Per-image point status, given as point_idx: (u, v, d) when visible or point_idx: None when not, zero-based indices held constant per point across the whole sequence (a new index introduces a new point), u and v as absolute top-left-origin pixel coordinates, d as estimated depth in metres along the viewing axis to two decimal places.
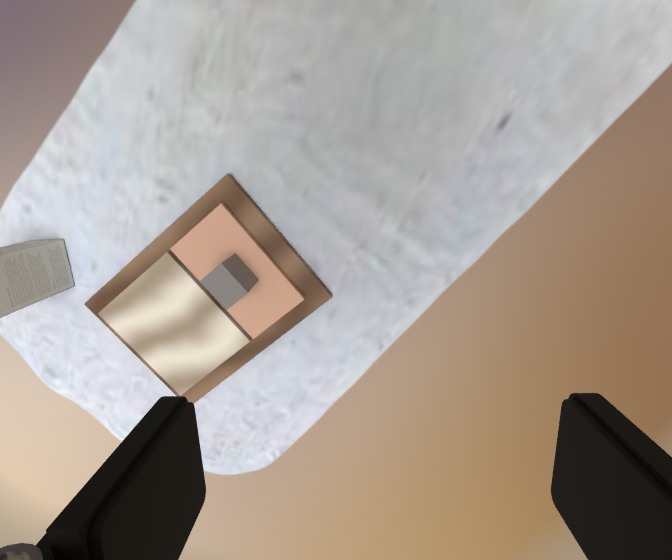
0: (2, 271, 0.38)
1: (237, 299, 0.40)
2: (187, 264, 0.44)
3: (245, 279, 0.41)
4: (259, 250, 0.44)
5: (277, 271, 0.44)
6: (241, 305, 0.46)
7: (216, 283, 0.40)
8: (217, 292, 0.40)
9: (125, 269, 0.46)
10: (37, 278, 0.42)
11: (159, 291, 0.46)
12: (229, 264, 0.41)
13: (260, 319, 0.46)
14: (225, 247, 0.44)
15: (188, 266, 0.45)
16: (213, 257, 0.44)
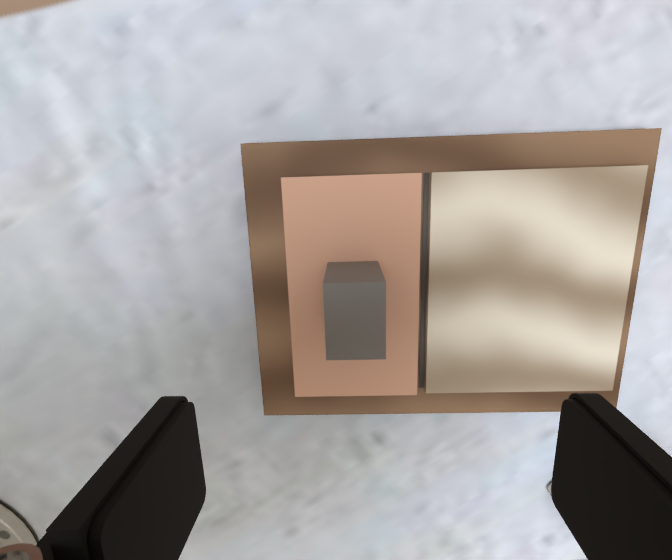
0: None
1: (350, 286, 0.19)
2: (413, 359, 0.25)
3: None
4: (292, 302, 0.24)
5: (289, 253, 0.23)
6: (389, 244, 0.23)
7: (361, 335, 0.19)
8: (373, 321, 0.19)
9: (508, 408, 0.27)
10: None
11: (491, 353, 0.25)
12: None
13: (379, 198, 0.23)
14: None
15: (414, 356, 0.25)
16: None
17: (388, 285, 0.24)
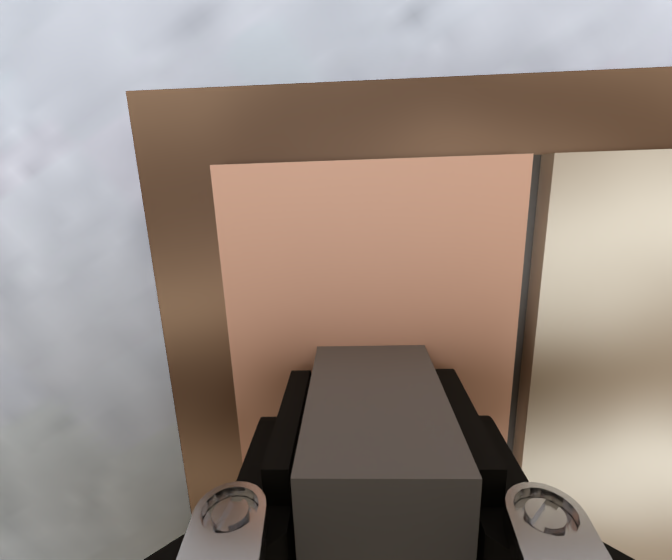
0: None
1: (374, 487, 0.06)
2: None
3: None
4: (244, 424, 0.12)
5: (235, 328, 0.11)
6: (451, 310, 0.11)
7: None
8: None
9: None
10: None
11: (648, 521, 0.12)
12: None
13: (433, 211, 0.10)
14: None
15: None
16: None
17: None
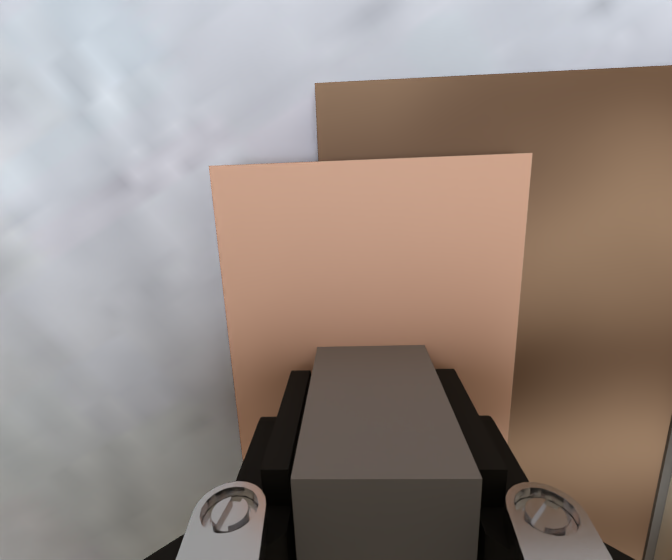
0: None
1: (374, 487, 0.06)
2: None
3: None
4: (245, 424, 0.12)
5: (235, 329, 0.11)
6: (451, 310, 0.11)
7: None
8: None
9: None
10: None
11: None
12: None
13: (432, 211, 0.10)
14: None
15: None
16: None
17: None
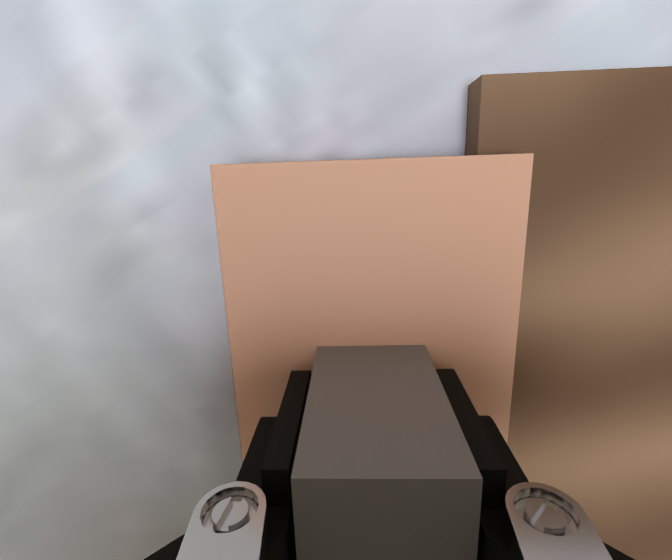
0: None
1: (374, 487, 0.06)
2: None
3: None
4: (245, 424, 0.12)
5: (235, 328, 0.11)
6: (452, 310, 0.11)
7: None
8: None
9: None
10: None
11: None
12: None
13: (433, 211, 0.10)
14: None
15: None
16: None
17: None
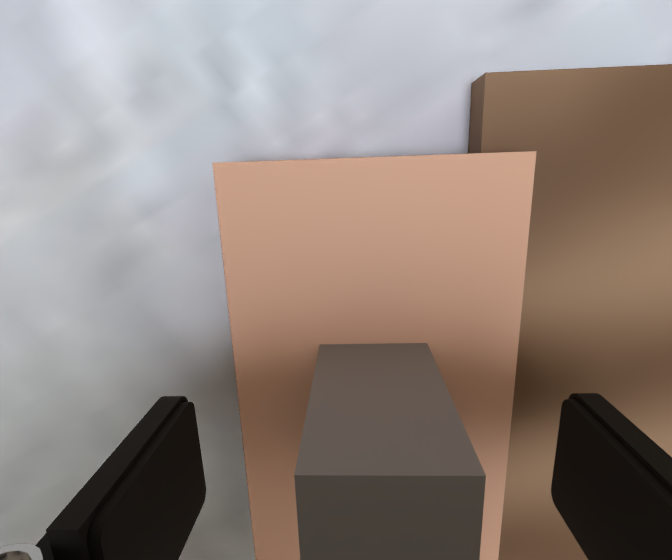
0: None
1: (378, 484, 0.06)
2: (491, 529, 0.12)
3: None
4: (247, 421, 0.12)
5: (237, 326, 0.11)
6: (454, 308, 0.11)
7: None
8: None
9: None
10: None
11: None
12: None
13: (435, 209, 0.10)
14: None
15: (494, 524, 0.12)
16: None
17: None
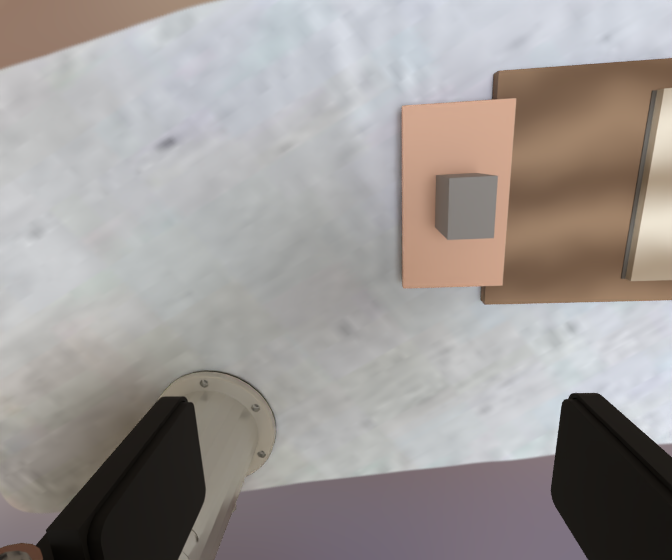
0: None
1: (470, 179, 0.25)
2: (500, 255, 0.31)
3: (443, 193, 0.27)
4: (405, 209, 0.31)
5: (405, 168, 0.30)
6: (487, 158, 0.29)
7: (476, 219, 0.26)
8: (485, 208, 0.25)
9: None
10: None
11: None
12: (443, 227, 0.27)
13: (481, 120, 0.28)
14: (440, 242, 0.31)
15: (502, 252, 0.31)
16: (464, 240, 0.31)
17: None
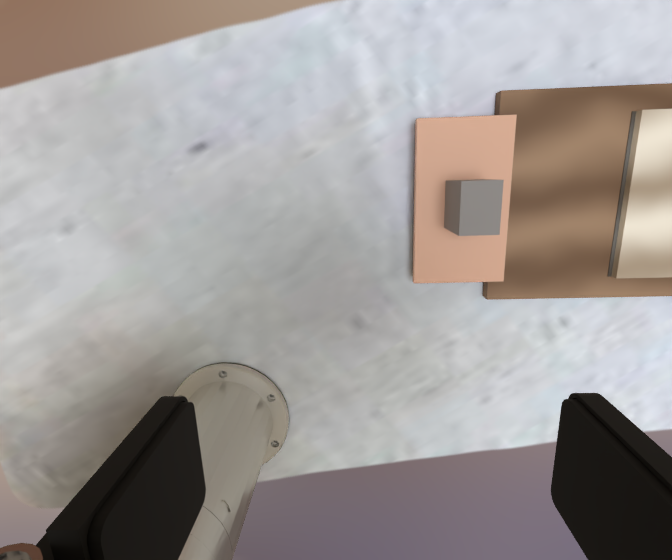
0: None
1: (480, 182, 0.28)
2: (502, 253, 0.35)
3: (454, 195, 0.31)
4: (417, 210, 0.34)
5: (418, 174, 0.33)
6: (490, 166, 0.33)
7: (484, 218, 0.29)
8: (492, 207, 0.29)
9: None
10: None
11: (669, 246, 0.34)
12: (454, 225, 0.31)
13: (485, 133, 0.32)
14: (448, 241, 0.35)
15: (503, 251, 0.35)
16: (469, 240, 0.34)
17: None
